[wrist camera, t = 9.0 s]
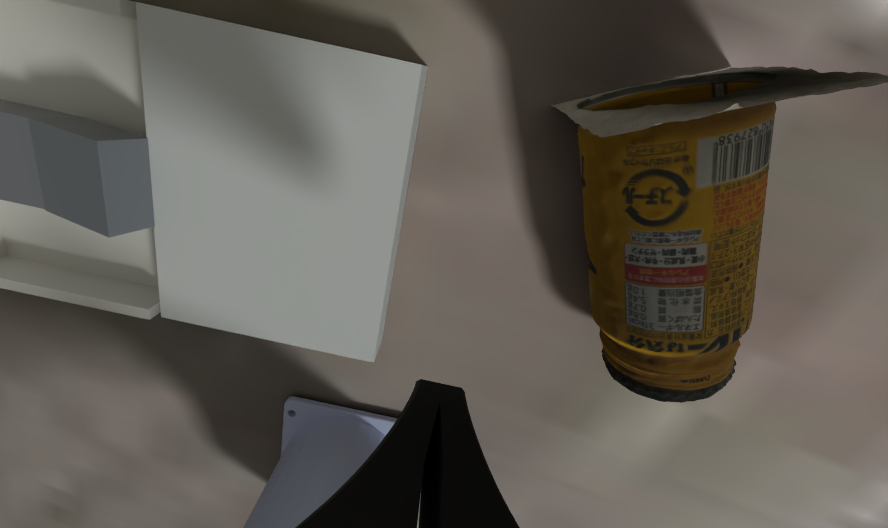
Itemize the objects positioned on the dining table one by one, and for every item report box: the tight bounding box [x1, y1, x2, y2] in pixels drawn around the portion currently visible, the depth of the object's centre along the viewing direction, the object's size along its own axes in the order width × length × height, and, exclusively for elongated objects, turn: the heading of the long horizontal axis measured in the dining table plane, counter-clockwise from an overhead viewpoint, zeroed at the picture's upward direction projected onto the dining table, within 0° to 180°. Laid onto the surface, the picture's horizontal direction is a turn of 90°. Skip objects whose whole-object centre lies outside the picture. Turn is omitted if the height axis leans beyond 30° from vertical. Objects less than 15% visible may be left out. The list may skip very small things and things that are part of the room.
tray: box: [0, 0, 161, 320], centre depth 19 cm, size 14×10×2 cm
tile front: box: [28, 117, 155, 238], centre depth 18 cm, size 4×4×2 cm
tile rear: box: [0, 99, 80, 209], centre depth 19 cm, size 4×4×2 cm
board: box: [136, 2, 428, 363], centre depth 20 cm, size 14×11×2 cm
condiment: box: [549, 67, 888, 402], centre depth 16 cm, size 7×8×12 cm
